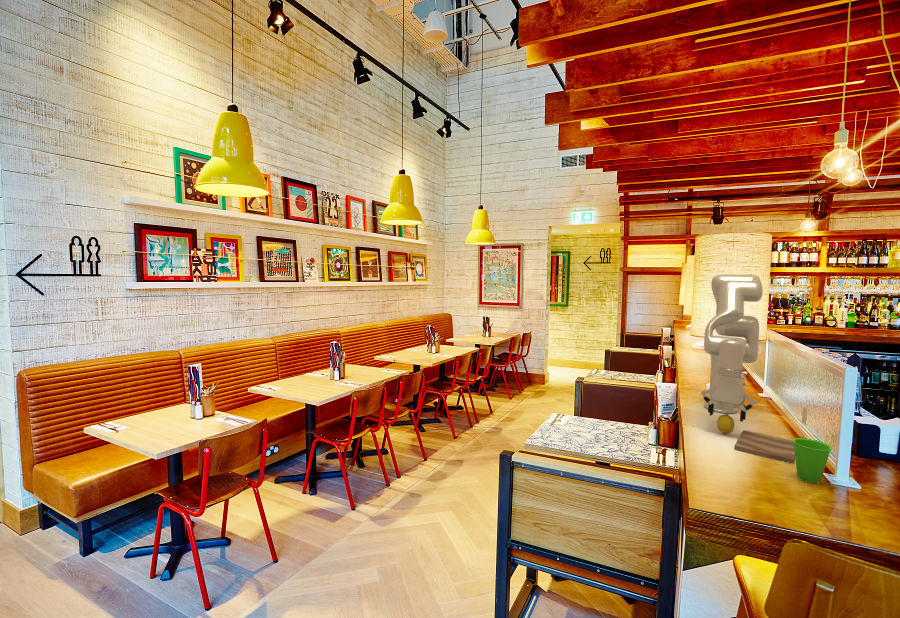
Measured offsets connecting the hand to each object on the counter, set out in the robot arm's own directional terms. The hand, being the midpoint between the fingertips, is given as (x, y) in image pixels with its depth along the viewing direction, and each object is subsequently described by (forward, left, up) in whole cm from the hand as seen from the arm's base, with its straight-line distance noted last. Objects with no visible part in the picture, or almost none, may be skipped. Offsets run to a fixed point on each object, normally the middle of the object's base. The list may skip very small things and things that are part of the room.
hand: (726, 417), depth 160 cm
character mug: (-15, +25, -7) cm, 30 cm away
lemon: (-1, 0, -7) cm, 7 cm away
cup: (+23, +25, -7) cm, 35 cm away
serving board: (+3, +13, -7) cm, 15 cm away
